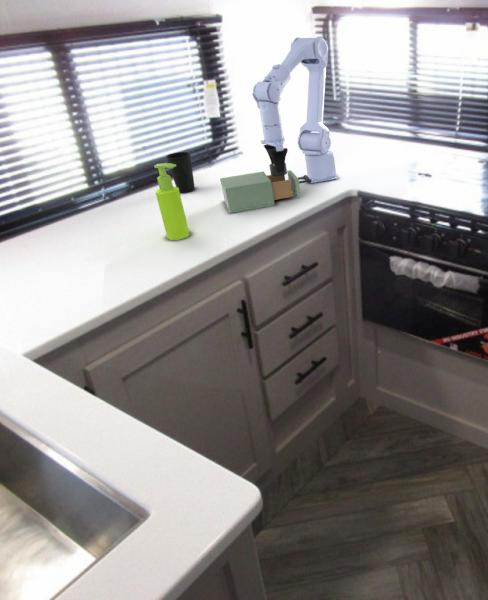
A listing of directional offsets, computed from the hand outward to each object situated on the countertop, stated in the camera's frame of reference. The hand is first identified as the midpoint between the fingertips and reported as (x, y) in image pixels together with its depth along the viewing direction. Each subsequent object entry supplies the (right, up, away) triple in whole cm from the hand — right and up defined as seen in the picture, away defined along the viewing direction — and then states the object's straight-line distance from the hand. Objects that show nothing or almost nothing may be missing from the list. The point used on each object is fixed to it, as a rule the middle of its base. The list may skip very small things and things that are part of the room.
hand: (278, 169), depth 176 cm
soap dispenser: (-23, -23, -19) cm, 38 cm away
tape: (0, -1, +1) cm, 1 cm away
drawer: (+1, -7, +4) cm, 8 cm away
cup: (-34, -3, +17) cm, 38 cm away
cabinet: (-9, -10, +1) cm, 14 cm away
